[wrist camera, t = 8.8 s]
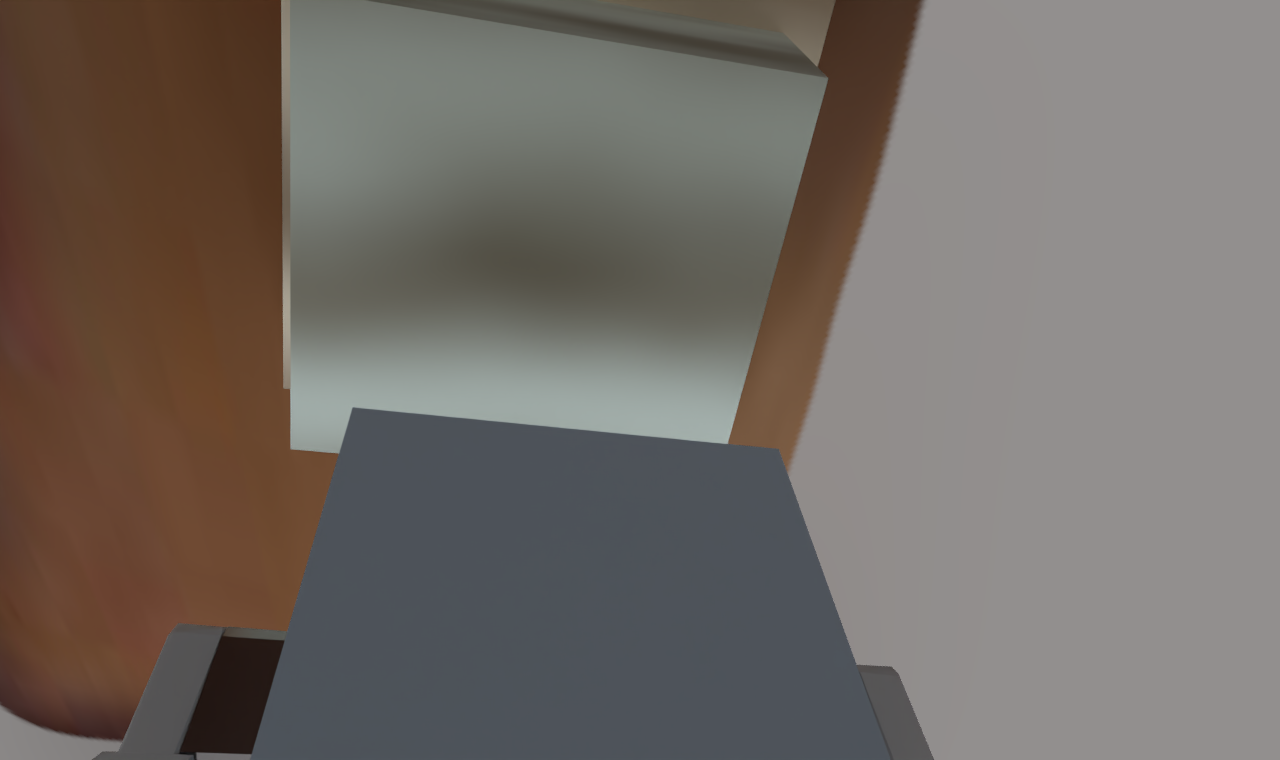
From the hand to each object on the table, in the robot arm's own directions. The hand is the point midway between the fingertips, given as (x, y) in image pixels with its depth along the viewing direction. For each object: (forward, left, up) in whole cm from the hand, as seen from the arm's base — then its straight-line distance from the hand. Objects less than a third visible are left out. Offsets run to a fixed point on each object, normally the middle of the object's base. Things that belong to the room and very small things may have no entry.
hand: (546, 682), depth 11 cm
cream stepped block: (0, 0, -19) cm, 19 cm away
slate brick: (0, 0, -2) cm, 2 cm away
